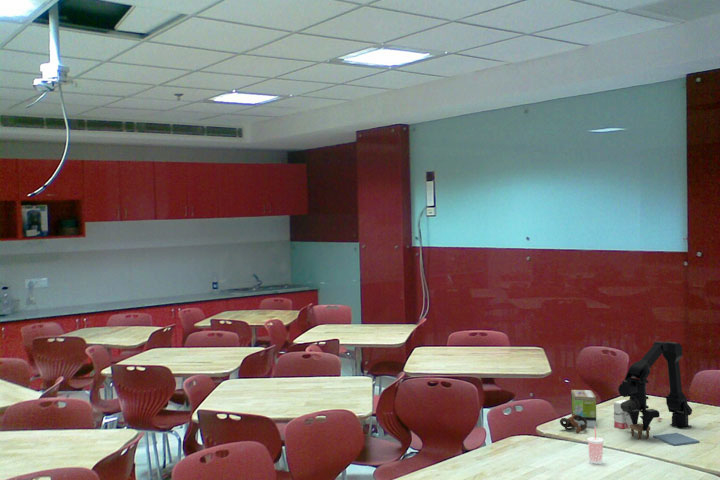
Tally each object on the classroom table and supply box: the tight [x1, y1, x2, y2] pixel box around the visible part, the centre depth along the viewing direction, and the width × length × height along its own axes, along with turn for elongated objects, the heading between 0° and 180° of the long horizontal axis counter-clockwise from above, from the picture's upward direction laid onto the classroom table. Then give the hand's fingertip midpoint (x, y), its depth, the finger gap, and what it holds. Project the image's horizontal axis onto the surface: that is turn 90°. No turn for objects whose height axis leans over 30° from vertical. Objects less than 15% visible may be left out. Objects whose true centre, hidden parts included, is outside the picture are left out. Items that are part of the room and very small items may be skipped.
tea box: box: [570, 389, 597, 429], centre depth 315 cm, size 15×10×15 cm, turn 168°
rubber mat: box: [652, 432, 700, 447], centre depth 286 cm, size 13×13×1 cm
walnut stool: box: [629, 423, 651, 440], centre depth 292 cm, size 6×6×5 cm
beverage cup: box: [586, 426, 604, 465], centre depth 261 cm, size 6×6×14 cm
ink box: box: [613, 399, 633, 430], centre depth 308 cm, size 9×5×12 cm, turn 123°
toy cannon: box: [559, 415, 587, 434], centre depth 304 cm, size 12×10×8 cm
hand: (640, 429), depth 292 cm, fingers closed on walnut stool, 6 cm apart
